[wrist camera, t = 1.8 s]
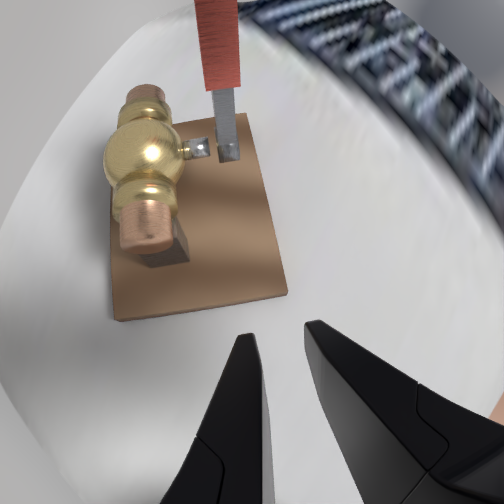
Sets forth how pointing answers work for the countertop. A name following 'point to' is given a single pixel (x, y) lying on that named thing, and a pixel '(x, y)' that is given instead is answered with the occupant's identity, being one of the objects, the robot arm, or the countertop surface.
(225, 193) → the mounting board
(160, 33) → the countertop surface
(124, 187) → the valve body
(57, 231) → the countertop surface
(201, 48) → the valve lever
